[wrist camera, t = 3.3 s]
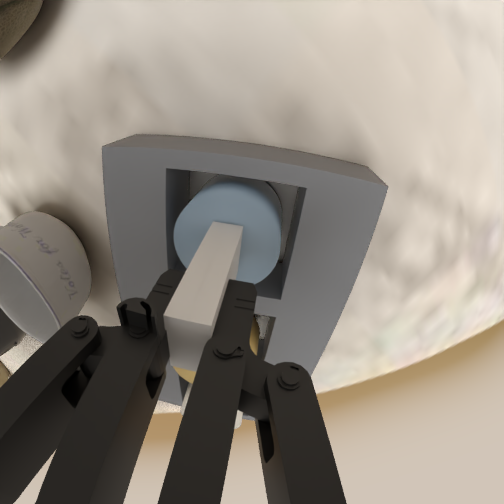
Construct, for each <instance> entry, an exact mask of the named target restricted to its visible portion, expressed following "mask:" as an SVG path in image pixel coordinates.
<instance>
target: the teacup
mask: <svg viewBox="0 0 504 504" xmlns="http://www.w3.org/2000/svg"><path fill="white" fill-rule="evenodd" d="M91 282H92V277H91V270H90V265H89V262H88V259H87V255H86V252H85V250H84V247H83V245H82V243H81V241H80V240H79V238H78V237H77V235H76V234H75V233H74V232H73V231H72V229H71V228H70V227H69V226H67V225H66V224H65V223H63V222H62V221H60V220H59V219H57V218H55V217H53V216H51V215H49V214H46V213H43V212H38V211H33V212H27V213H25V214H22V215H20V216H19V217H17V218H15V219H14V220H12V221H11V222H10V223H8V224H7V225H6V226H4V227H3V226H0V308H1V309H2V310H3V311H4V312H5V314H6V315H7V316H8V317H9V318H10V319H11V320H12V321H13V322H14V323H15V324H16V325H17V326H18V327H19V328H20V329H21V330H23V331H24V332H25V333H26V334H28V335H29V336H31V337H32V338H34V339H36V340H37V341H39V342H41V343H45V342H46V341H47V340H48V339H50V338H51V337H52V336H53V335H54V334H55V333H56V332H57V331H58V330H59V329H60V328H61V327H63V326H64V325H65V324H66V323H67V322H68V321H69V320H71V319H72V318H74V317H77V315H78V314H79V312H80V311H81V309H82V307H83V306H84V304H85V302H86V301H87V298H88V296H89V293H90V290H91Z"/></svg>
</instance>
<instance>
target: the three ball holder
mask: <svg viewBox="0 0 504 504" xmlns="http://www.w3.org/2000/svg"><path fill="white" fill-rule="evenodd" d="M102 162H103V180H104V194H105V205H106V214H107V223H108V231H109V238H110V245H111V251H112V257H113V263H114V269H115V274H116V279H117V284H118V289H119V294H120V298H121V302H122V301H124V300H126V299H129V298H135V297H137V298H144V299H146V298H147V297H148V295H149V293H150V292H151V291H152V288H153V287H154V285H156V282H157V280H158V279H159V277H160V275H161V274H163V273H164V272H166V271H167V270H169V269H175V270H180V271H185V272H186V270H187V268H186V267H185V266H184V265H183V263H182V262H181V260H180V258H179V256H178V254H177V252H176V249H175V245H174V228H175V224H176V221H177V219H178V217H179V215H180V213H181V212H182V211H183V210H184V208H185V207H186V206H187V205H188V196H189V174H190V171H199V172H207V173H215V174H223V175H231V176H238V177H245V178H251V179H258V180H264V181H270V182H276V183H282V184H287V185H293V186H298V187H299V188H298V193H297V198H296V203H295V208H294V212H293V217H292V222H291V227H290V231H289V236H288V241H287V245H286V250H285V254H284V259H283V263H278V262H277V263H276V266H275V267H274V269H273V270H272V272H271V273H270V274H269V275H268V276H267V277H266V278H264V279H263V280H262V281H260V282H258V283H256V284H254V286H255V288H256V290H257V298H256V304H255V310H254V314H259V315H265V316H270V319H269V323H268V327H267V331H266V335H265V339H264V340H261V339H259V342H258V349H257V356H258V357H259V358H260V359H262V360H264V361H266V362H268V363H270V364H273V365H276V364H277V363H281V362H294V363H296V364H298V365H301V366H302V367H303V368H305V369H306V370H307V371H308V373H309V375H310V377H311V375H312V373H313V371H314V369H315V367H316V365H317V363H318V361H319V359H320V357H321V355H322V353H323V351H324V349H325V347H326V345H327V343H328V341H329V339H330V337H331V335H332V333H333V331H334V329H335V327H336V324H337V322H338V320H339V318H340V316H341V313H342V311H343V309H344V307H345V304H346V302H347V300H348V297H349V295H350V293H351V290H352V288H353V286H354V283H355V281H356V278H357V276H358V273H359V271H360V268H361V266H362V263H363V260H364V258H365V255H366V252H367V250H368V247H369V244H370V241H371V239H372V236H373V233H374V230H375V227H376V224H377V221H378V218H379V215H380V212H381V209H382V206H383V203H384V199H385V196H386V193H387V190H388V186H387V185H386V184H385V183H384V182H383V181H382V180H381V179H380V178H379V177H378V176H377V175H376V174H375V173H374V172H373V171H371V170H370V169H369V168H368V167H366V166H362V165H359V164H355V163H351V162H346V161H342V160H338V159H333V158H329V157H324V156H320V155H315V154H310V153H305V152H300V151H294V150H289V149H283V148H277V147H271V146H265V145H258V144H251V143H243V142H236V141H227V140H218V139H208V138H197V137H184V136H167V135H140V134H136V135H133V136H130V137H127V138H124V139H121V140H118V141H116V142H113V143H110V144H107V145H105V146H102ZM188 384H189V382H188V381H186V380H185V379H184V378H182V377H181V376H180V375H179V374H178V373H177V372H176V371H175V369H174V368H173V366H171V365H170V359H169V360H168V363H167V365H166V379H165V382H164V385H163V387H162V390H161V393H160V395H159V398H158V400H160V401H164V402H167V403H171V404H175V405H179V406H182V403H183V400H184V397H185V394H186V390H187V387H188ZM242 419H247V420H254V421H255V418H253V417H251V416H249V415H247V414H245V413H243V416H242Z"/></svg>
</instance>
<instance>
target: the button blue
mask: <svg viewBox="0 0 504 504" xmlns="http://www.w3.org/2000/svg"><path fill="white" fill-rule="evenodd" d="M213 221H214V222H220V223H227V224H233V225H239V226H243V233H242V241H241V249H240V257H239V265H238V273H237V276H236V280H238V281H243V282H249V283H254V284H256V283H258V282H260V281H262V280H263V279H264V278H266V277H267V276H268V275H269V274H270V273H271V272H272V270H273V269H274V267H275V266H276V263H277V261H278V258H279V255H280V246H281V226H282V209H281V204H280V201H279V199H278V197H277V195H276V193H275V192H274V190H273V189H272V188H271V187H270V186H269V185H268V184H267V183H266V182H265V181H263V180H258V179H251V178H245V177H238V176H231V175H223V174H220V175H218V176H216V177H214V178H212V179H211V180H209V181H208V182H207V183H206V184H205V185H204V186H203V187H202V189H201V190H200V191H199V192H198V193H197V194H196V195H195V197H194V198H193V199H192V200H191V201H190V202H189V204H188V205H187V206H186V207H185V208H184V210H183V211H182V212H181V213H180V215H179V217H178V219H177V221H176V224H175V228H174V245H175V249H176V252H177V254H178V256H179V258H180V260H181V262H182V263H183V265H184V266H185V267H186V268H188V266H189V264H190V263H191V261H192V259H193V257H194V255H195V253H196V251H197V250H198V248H199V246H200V244H201V242H202V240H203V239H204V237H205V235H206V233H207V231H208V230H209V228H210V226H211V224H212V222H213Z"/></svg>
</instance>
